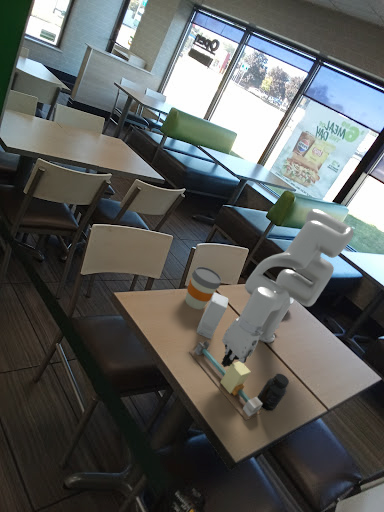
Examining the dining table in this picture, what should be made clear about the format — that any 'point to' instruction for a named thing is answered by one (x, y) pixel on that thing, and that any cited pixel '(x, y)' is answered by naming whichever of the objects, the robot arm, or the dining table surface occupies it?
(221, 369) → the cable board
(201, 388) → the dining table surface
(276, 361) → the dining table surface
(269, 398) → the supplement bottle
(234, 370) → the pale yellow block
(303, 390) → the dining table surface
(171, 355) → the dining table surface
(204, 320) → the skincare box
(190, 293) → the reusable coffee cup
